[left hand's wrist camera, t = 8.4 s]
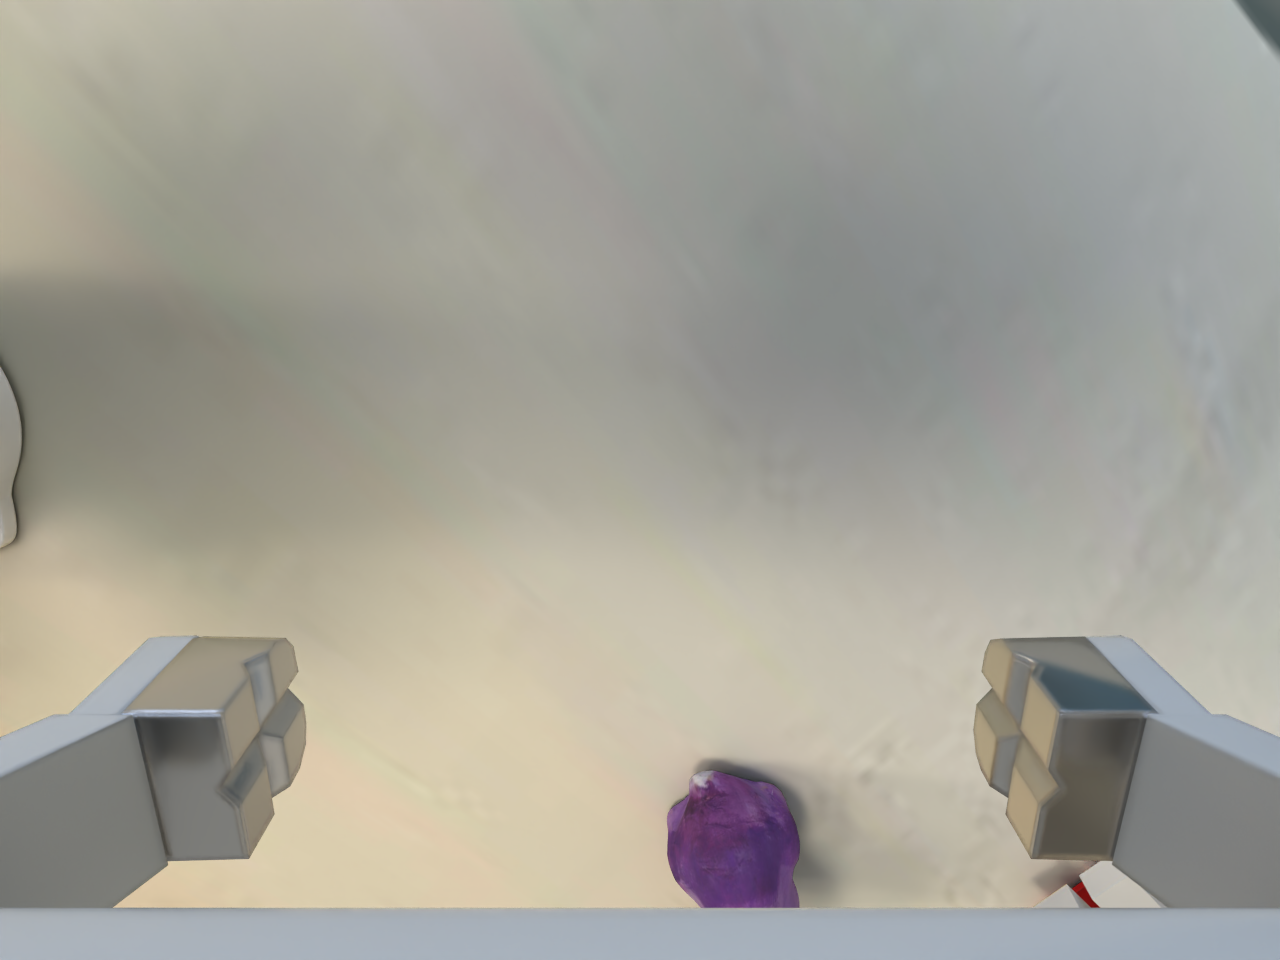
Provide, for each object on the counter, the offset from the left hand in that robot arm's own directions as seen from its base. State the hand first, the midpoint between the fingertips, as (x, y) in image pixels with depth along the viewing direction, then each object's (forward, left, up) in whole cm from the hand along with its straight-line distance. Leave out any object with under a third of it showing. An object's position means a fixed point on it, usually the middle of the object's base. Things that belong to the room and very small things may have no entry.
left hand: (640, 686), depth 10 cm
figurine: (-11, -34, -37) cm, 52 cm away
